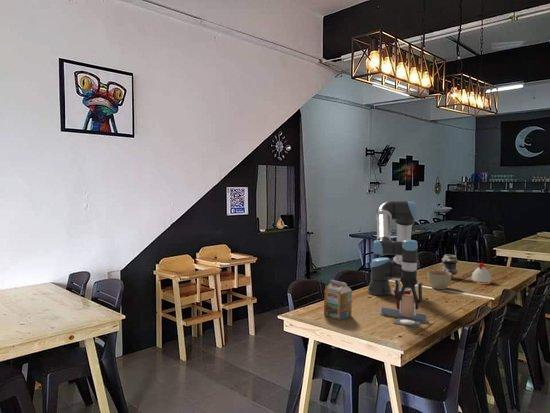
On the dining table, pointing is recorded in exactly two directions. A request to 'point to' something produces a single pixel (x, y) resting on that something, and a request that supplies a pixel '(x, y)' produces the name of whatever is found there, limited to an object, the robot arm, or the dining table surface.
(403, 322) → the resting mat
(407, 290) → the plastic cup
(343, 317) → the milk carton
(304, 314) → the dining table surface
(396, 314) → the divider wall
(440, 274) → the planter bowl
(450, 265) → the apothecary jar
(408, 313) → the beige small cylinder
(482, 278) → the kitchen timer
